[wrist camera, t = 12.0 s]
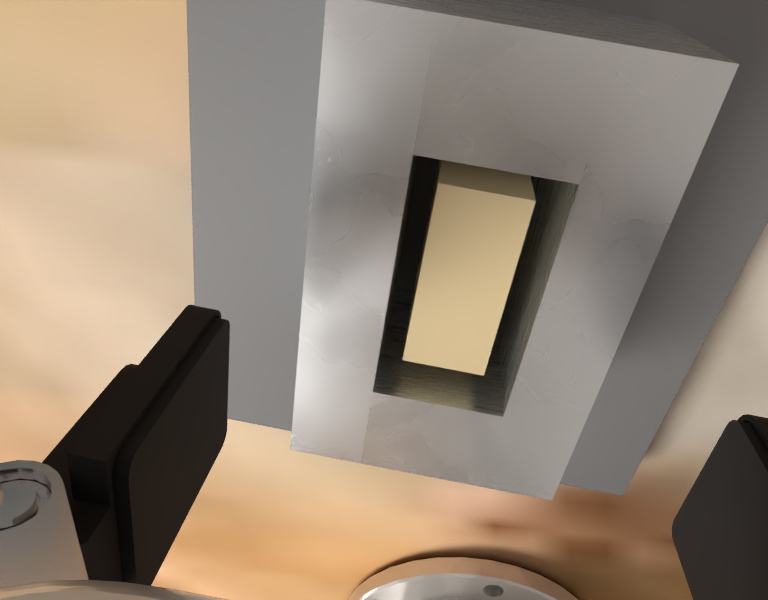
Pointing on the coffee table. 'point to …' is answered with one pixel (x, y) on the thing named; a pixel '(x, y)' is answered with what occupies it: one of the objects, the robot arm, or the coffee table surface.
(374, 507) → the coffee table surface
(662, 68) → the slotted block
